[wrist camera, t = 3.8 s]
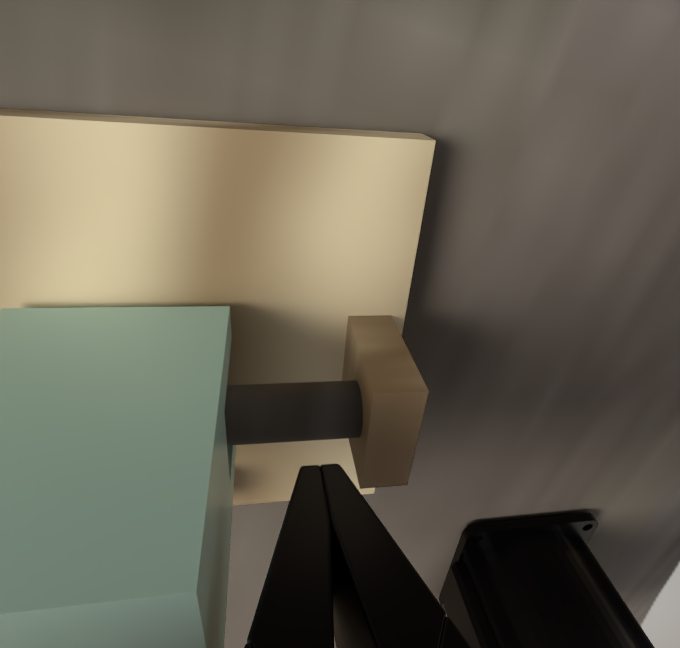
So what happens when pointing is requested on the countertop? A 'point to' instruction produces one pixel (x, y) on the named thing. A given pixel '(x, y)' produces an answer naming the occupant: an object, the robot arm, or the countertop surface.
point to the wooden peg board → (240, 267)
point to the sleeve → (114, 477)
